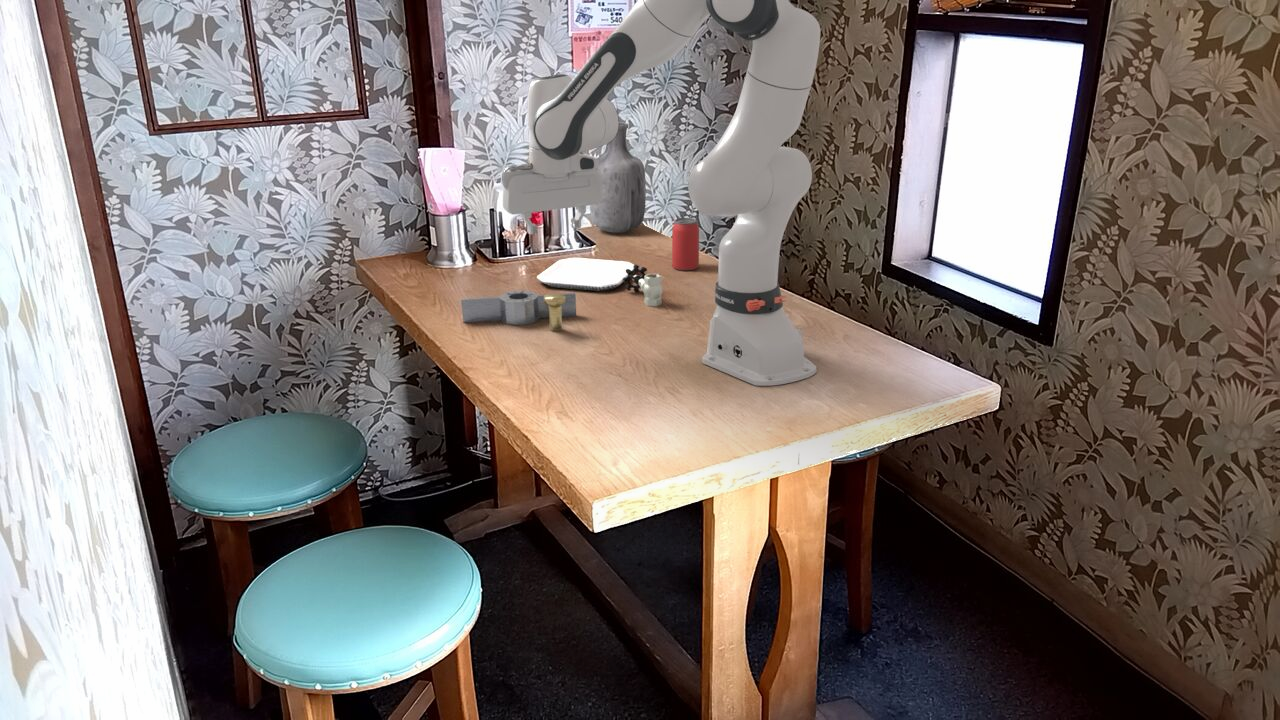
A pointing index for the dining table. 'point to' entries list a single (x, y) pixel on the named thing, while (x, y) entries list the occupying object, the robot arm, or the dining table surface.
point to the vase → (620, 187)
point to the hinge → (513, 308)
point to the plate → (585, 274)
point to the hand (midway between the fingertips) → (554, 230)
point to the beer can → (685, 244)
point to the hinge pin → (555, 310)
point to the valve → (645, 285)
